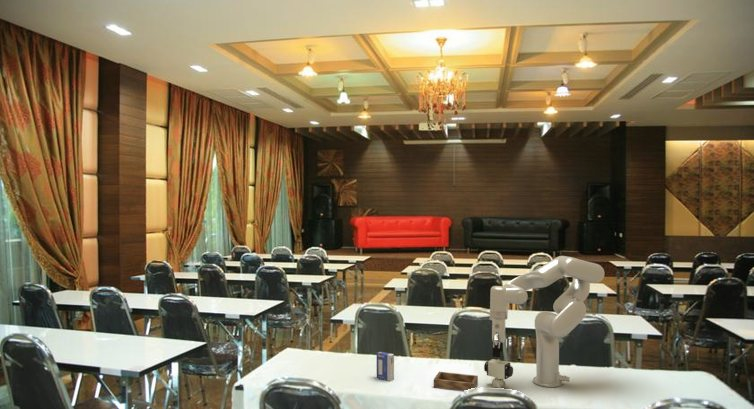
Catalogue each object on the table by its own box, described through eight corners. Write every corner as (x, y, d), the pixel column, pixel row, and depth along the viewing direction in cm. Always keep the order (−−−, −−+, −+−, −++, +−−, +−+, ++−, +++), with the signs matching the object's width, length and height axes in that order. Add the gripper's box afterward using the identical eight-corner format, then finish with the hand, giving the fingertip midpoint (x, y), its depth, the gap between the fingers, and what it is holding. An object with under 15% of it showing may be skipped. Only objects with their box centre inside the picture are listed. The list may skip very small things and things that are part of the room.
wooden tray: (477, 383, 236) (477, 375, 236) (473, 392, 226) (473, 384, 226) (439, 379, 242) (439, 371, 242) (433, 387, 231) (433, 379, 231)
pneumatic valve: (508, 391, 227) (509, 363, 227) (483, 385, 234) (483, 358, 234) (514, 387, 231) (514, 360, 231) (489, 382, 238) (489, 355, 238)
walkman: (376, 378, 243) (376, 352, 243) (379, 376, 246) (379, 350, 245) (391, 381, 239) (391, 354, 239) (394, 379, 241) (394, 353, 241)
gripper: (505, 319, 223) (504, 360, 223) (509, 311, 239) (508, 350, 239) (487, 317, 226) (486, 358, 226) (492, 310, 242) (491, 348, 242)
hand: (497, 353), depth 232 cm, fingers open, 9 cm apart
